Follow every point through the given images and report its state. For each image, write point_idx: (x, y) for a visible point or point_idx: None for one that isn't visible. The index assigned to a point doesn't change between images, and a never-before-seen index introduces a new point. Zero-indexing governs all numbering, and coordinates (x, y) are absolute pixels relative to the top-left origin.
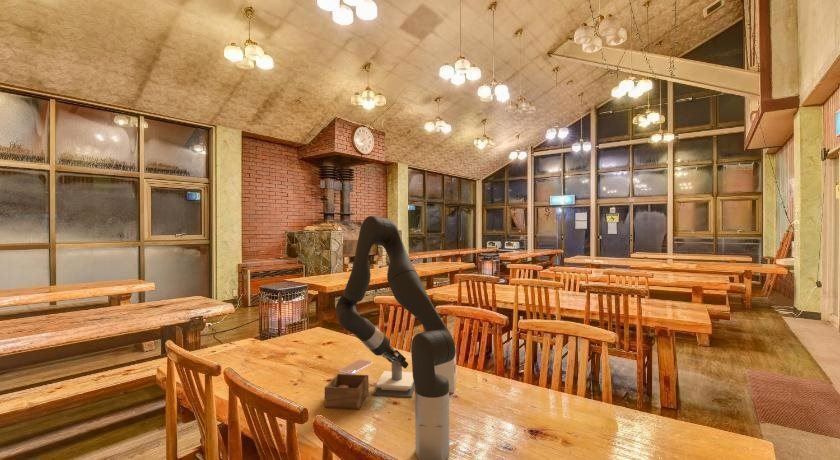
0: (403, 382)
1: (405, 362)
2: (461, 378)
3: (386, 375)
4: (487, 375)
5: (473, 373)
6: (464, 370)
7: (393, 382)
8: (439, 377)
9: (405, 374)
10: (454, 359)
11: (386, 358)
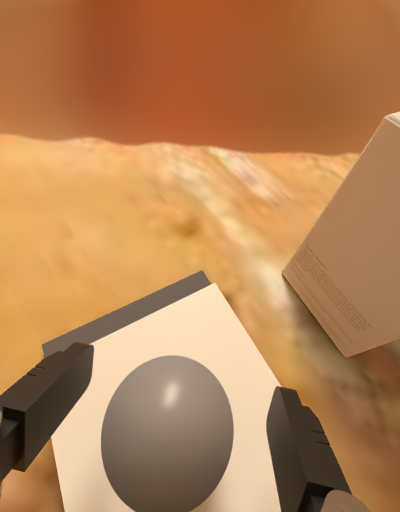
0: (256, 450)
1: (332, 461)
2: (322, 205)
3: (88, 424)
4: (354, 162)
5: (318, 167)
6: (283, 162)
7: (203, 507)
8: None
9: (186, 335)
10: None
11: (26, 459)
